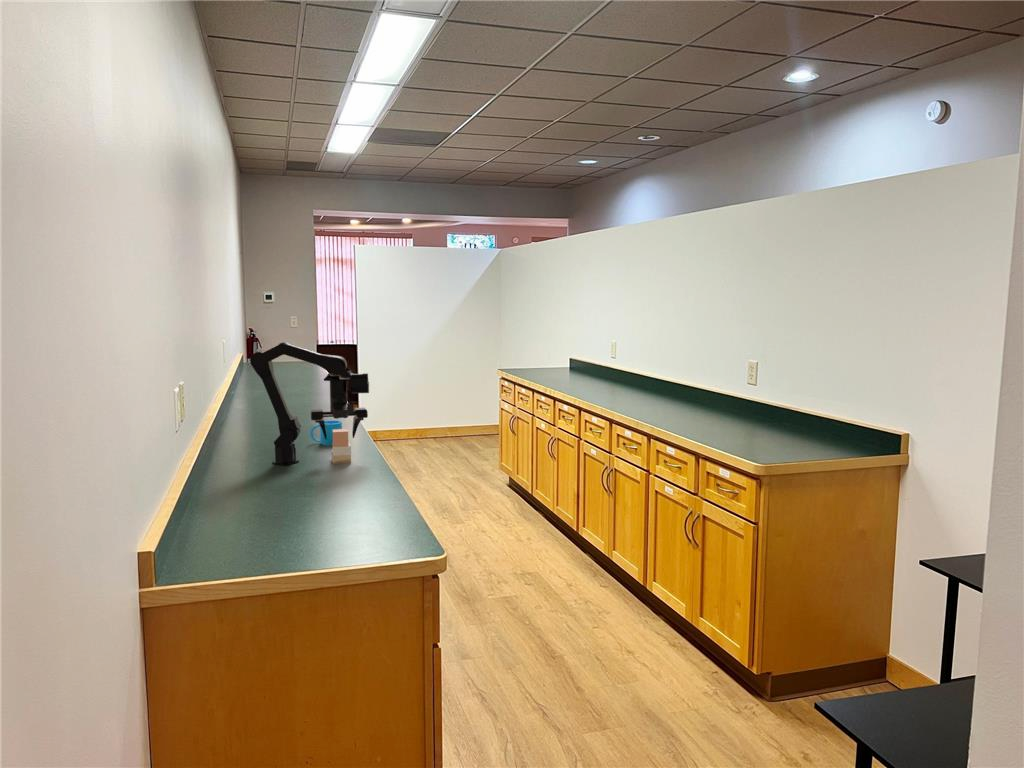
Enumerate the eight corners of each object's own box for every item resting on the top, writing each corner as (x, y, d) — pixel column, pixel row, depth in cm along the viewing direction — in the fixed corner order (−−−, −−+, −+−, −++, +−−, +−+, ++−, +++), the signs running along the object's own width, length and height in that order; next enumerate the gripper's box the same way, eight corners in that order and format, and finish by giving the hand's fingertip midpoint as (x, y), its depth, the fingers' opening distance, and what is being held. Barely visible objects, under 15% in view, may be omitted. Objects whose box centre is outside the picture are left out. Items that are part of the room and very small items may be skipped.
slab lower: (351, 463, 255) (350, 454, 255) (333, 464, 254) (332, 455, 253) (349, 459, 261) (349, 451, 261) (331, 460, 259) (331, 452, 259)
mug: (342, 440, 293) (341, 420, 292) (342, 444, 285) (341, 423, 284) (310, 441, 290) (309, 421, 289) (309, 446, 282) (309, 424, 281)
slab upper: (350, 454, 255) (350, 446, 254) (332, 455, 253) (332, 447, 253) (350, 451, 261) (350, 442, 260) (332, 452, 259) (332, 443, 259)
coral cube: (348, 445, 255) (348, 431, 254) (333, 446, 254) (333, 432, 253) (347, 443, 260) (347, 428, 259) (332, 443, 258) (332, 429, 258)
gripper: (311, 397, 244) (312, 444, 246) (369, 395, 249) (370, 441, 251) (309, 393, 254) (311, 438, 256) (365, 391, 260) (366, 435, 262)
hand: (339, 438), depth 256 cm, fingers open, 9 cm apart
